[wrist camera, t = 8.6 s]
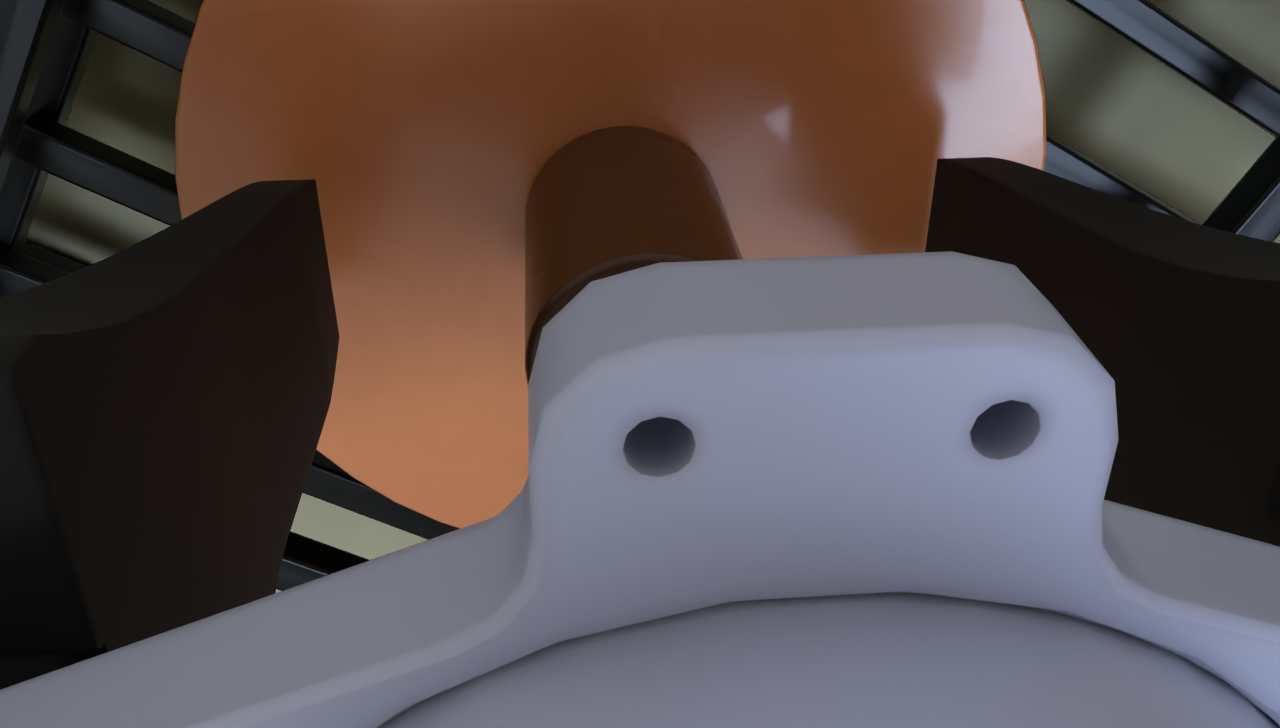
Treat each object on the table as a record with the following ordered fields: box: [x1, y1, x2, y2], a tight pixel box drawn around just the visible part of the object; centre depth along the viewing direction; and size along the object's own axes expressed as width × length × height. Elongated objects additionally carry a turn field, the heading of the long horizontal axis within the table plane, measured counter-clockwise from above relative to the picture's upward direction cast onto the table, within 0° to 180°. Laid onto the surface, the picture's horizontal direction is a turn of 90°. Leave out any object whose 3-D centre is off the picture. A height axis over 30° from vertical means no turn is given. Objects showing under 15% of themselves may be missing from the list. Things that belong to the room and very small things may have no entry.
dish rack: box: [0, 0, 1280, 591], centre depth 15 cm, size 21×14×6 cm, turn 60°
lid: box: [175, 0, 1046, 529], centre depth 13 cm, size 11×11×5 cm
